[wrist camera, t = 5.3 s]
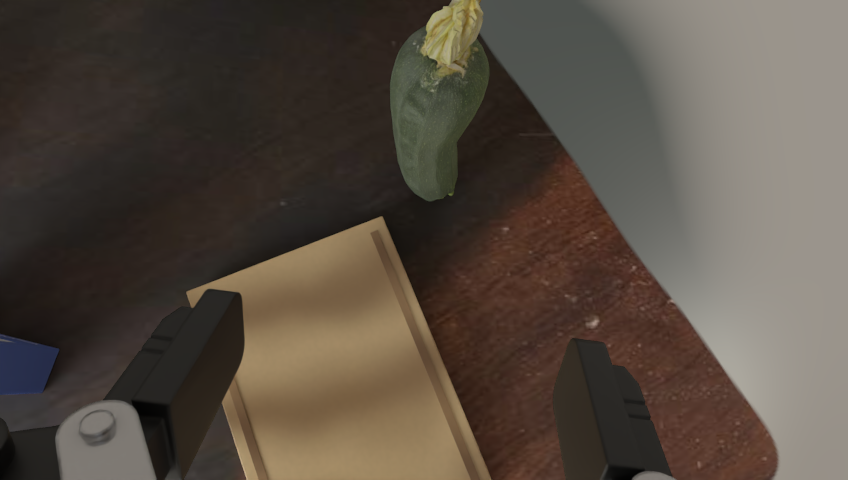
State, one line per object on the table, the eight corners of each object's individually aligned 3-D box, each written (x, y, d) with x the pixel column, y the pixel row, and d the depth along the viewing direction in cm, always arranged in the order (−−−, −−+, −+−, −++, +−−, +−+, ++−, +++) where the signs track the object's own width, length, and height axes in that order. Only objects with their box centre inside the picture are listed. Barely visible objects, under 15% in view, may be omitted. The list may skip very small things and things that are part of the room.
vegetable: (396, 214, 38) (389, 40, 18) (391, 154, 39) (380, -72, 19) (461, 210, 38) (523, 33, 18) (455, 151, 39) (508, -76, 19)
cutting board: (194, 295, 36) (185, 291, 34) (383, 221, 37) (382, 215, 36) (288, 583, 32) (282, 593, 30) (493, 487, 34) (497, 492, 32)
